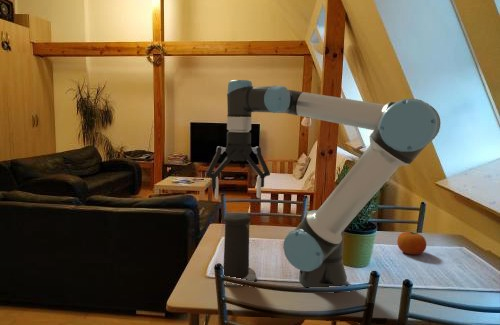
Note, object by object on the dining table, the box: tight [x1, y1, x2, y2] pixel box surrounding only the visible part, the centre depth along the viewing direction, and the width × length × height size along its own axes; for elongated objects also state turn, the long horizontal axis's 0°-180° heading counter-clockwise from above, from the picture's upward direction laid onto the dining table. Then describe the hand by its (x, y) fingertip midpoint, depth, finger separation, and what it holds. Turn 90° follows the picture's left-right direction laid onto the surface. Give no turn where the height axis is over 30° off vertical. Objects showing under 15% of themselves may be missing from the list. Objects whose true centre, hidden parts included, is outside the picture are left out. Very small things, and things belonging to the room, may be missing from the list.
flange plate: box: [225, 267, 257, 288], centre depth 114 cm, size 13×13×1 cm
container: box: [222, 212, 252, 278], centre depth 113 cm, size 9×9×20 cm
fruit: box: [396, 231, 427, 256], centre depth 139 cm, size 11×10×8 cm
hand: (237, 198), depth 111 cm, fingers open, 13 cm apart
